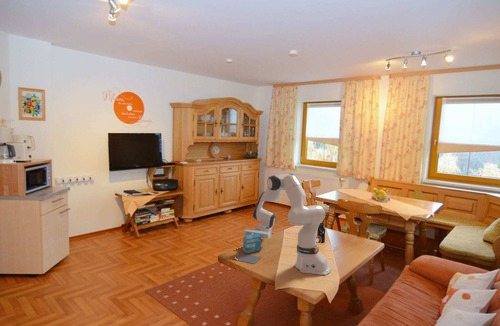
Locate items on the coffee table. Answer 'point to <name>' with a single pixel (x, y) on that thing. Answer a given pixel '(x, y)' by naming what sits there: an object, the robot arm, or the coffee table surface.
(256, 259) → the mat
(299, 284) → the coffee table surface
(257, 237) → the data package
